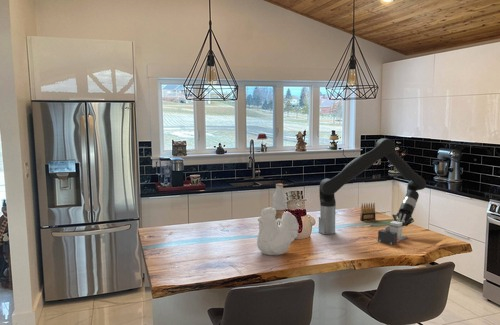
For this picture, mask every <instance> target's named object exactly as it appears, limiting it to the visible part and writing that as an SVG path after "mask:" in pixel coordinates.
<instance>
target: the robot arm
mask: <svg viewBox="0 0 500 325" xmlns="http://www.w3.org/2000/svg"><path fill="white" fill-rule="evenodd" d="M395 147H396V143H395V141H394V140H393V139H390V138H385V137H384V138H383V137H382V138H380V139H378V140H377V141H376V143H375V147H374V148H372V149H371V150H370V151H367V152H366V153H363V154H360V155H359V156H357V157H355V158H354V159H353V160H351V161H350V162H349V163H347V164H346V166H344V167H343V169H342V170H341V171H340V172H339V173H337V175H335V176H333V177H332V178H324V179H322V180H321V181H320V183H319V186H318V187H319V203H320V204H319V205H320V206H319V211H320V212H319V217H318V233H320V234H322V235H334V234H335V233H336V208H337V207H336V198H335V193H337V192H338V191H339V190H340V189H341V188H342V187H343V186H344V185H345V186H346V184H347V183H349V182H350V181H351V180H353V179H355V178H356V177H358V176H359V175H361V174H362V173H364V172H365V171H366V170H367V169H369V168H370V167H372V166H373V165H374V164H375V163H376V162H378V161H380V160H381V159H383V158H384V157H385V159H387V161H389V163H390V164H392V165H393V167H394V168H395V169H396V171H397V172H398V173H399V174H400V176H401V177H402V178H403V180H406V181H409V182H408V183H407V186H406V194H405V197H403V200H402V202H401V204H400V207H399V209H398V212H397V213H396V214H392V218H393V221H397V222H402V228H403V227H407V226H409V225H411V224H412V223H414V222H415V220H414V218H413V217H412V216H413V213H414V211H415V208H416V206H417V203H418V200H419V196H420V194H419V193H418V191H422V190H424V189H426V186H427V182H426V180H425V178H423V177H422V176H421V175H419V174H418V173H417V172H415V171H414V170H413V169H412V167H411V166H410V165H409V164H408V162H406V161H405V160H404V159H403V158H402V157H401V156H400V155H399V154H397V152H396V151H395V149H396V148H395Z"/></svg>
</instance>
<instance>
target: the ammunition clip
mask: <svg viewBox="0 0 500 325" xmlns="http://www.w3.org/2000/svg"><path fill="white" fill-rule="evenodd" d="M360 208H361V209H360V214H359V215H360V217H359V220H360V221H361V222H363V221H364V220H367V221H375V220H376V206H375V202H373V203H372V202H371V203H370V202H368V203H361V206H360ZM364 222H365V221H364Z"/></svg>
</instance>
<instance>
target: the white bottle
mask: <svg viewBox="0 0 500 325" xmlns="http://www.w3.org/2000/svg"><path fill="white" fill-rule="evenodd" d="M271 199H272V203H271V204H272V205H271V208H274V209H275V210H276V215H275V218H276V220H277V219H281V218H282V215H283V213H284V212H285V210H286V209H287V207H288V206H287V205H288V204H287V194H286V193H285V192H284V184H283V183H275V192H274V193H273V195H272V198H271ZM287 210H288V209H287ZM278 222H279V221H278ZM277 225H278V223H277Z"/></svg>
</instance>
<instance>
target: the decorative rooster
mask: <svg viewBox="0 0 500 325" xmlns="http://www.w3.org/2000/svg"><path fill="white" fill-rule="evenodd" d="M275 215H276V210H275V209H274V208H272V207H266V208H263V209H262V210H261V212H260V216H259V217H258V218H257V221H258V229H259V230H258V235H257V241H256V245H257V248H258V250H259V251H260V252H261V253H262V254H264V255H266V256H267V255H268V256H269V255H270V256H278V255H284V254H285V253H286V252H287V251H288V250H289V248H290V246H291V242H294V241H295V239H296V238H297V237H298V234H299V229H300V228H299V227H300V225H299V222H298V219H297V217H296V216H295V215H293V213H291V212H289V211H288V210H287V211H286V212H284V213H283V215H282V219H277V220H276V218H275ZM278 221H280V225H277V223H278Z"/></svg>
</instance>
